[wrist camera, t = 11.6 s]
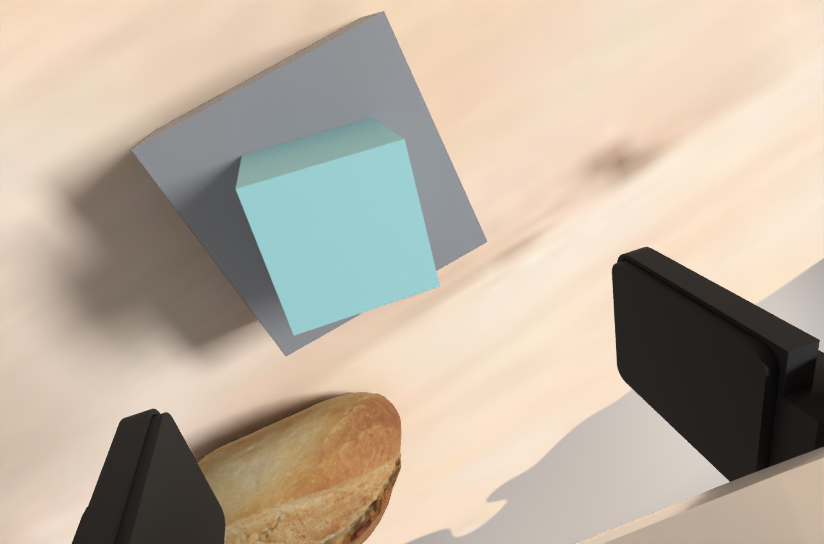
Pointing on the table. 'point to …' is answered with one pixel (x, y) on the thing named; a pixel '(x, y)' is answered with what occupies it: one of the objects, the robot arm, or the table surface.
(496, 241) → the table surface
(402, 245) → the teal cube
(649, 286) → the robot arm
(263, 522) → the bread roll
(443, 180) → the gray block
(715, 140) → the table surface
